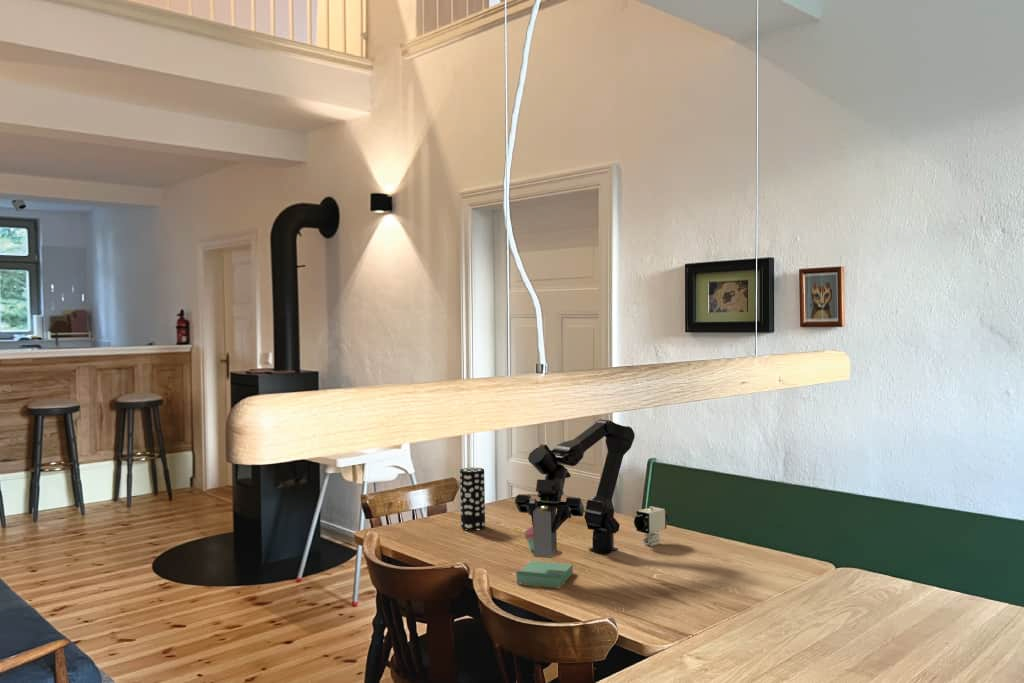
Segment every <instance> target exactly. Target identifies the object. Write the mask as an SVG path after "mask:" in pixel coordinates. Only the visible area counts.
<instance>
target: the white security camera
mask: <svg viewBox="0 0 1024 683" xmlns="http://www.w3.org/2000/svg"><path fill="white" fill-rule="evenodd" d="M635 513H636V514H635V517H634V519H633V524H634V528H636V532H639V533H643V537H644V538H643V545H645V544H646V545H647V546H650V547H655V546H659V545H660V542H659V541H660V540H661V537H660V534H659V533H658V532H659V531H663V530H666V529H667V524H668V522H669V520H670V517H669V514H668V512H667V509H666V508H663V507H658V506H652V505H651V506H649V507H648V508H644V509H643V508H642V509H639V510H636V512H635ZM646 545H645V546H646Z"/></svg>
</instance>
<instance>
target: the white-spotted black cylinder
mask: <svg viewBox="0 0 1024 683" xmlns="http://www.w3.org/2000/svg"><path fill="white" fill-rule="evenodd" d="M459 487H460V488H459V490H460V498H459V500H460V529H461V528H462V529H467V530H477V529H482V530H484V529H486V501H485V500H486V497H485V496H486V493H485V490H486V489H485V468H482V467H465V468H464V467H463V468H461V469H459ZM483 528H484V529H483ZM462 529H461V530H462Z"/></svg>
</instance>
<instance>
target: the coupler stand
mask: <svg viewBox="0 0 1024 683" xmlns="http://www.w3.org/2000/svg"><path fill="white" fill-rule="evenodd" d="M573 568H574V565H573V563H565V562H564V563H563V562H552V561H540V560H531V561H530V562H528V564H526V565H525V566H524V567H523V568H522V569H518V570H516V584H517V583H521V584H520V585H522V584H527V585H526V586H532V585H536V586H535V587H542V586H546V587H545V588H552V587H559V588H558V589H561V588H562V587H563V586H564V585H565V583H566V582H567V581H568V580H569V578H570V577H571V576H572V575H573V573H574V571H573V570H574V569H573ZM571 574H572V575H571ZM570 575H571V576H570ZM566 580H567V581H566ZM565 581H566V582H565ZM564 582H565V583H564ZM561 586H562V587H561ZM560 587H561V588H560Z"/></svg>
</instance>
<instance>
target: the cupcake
mask: <svg viewBox="0 0 1024 683" xmlns="http://www.w3.org/2000/svg"><path fill="white" fill-rule="evenodd" d="M523 538H524V539H526V541H527V542H528V545H529V548H530V551H532V550H533V551H532V552H534V535H533V526H531V527H530V526H529V527H528V528H527V529H526V530H525V531H524V537H523Z"/></svg>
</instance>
